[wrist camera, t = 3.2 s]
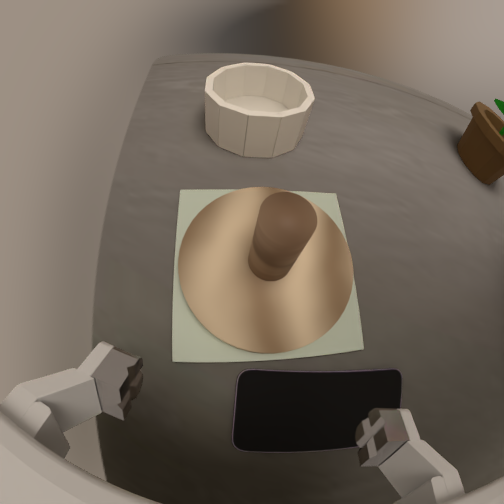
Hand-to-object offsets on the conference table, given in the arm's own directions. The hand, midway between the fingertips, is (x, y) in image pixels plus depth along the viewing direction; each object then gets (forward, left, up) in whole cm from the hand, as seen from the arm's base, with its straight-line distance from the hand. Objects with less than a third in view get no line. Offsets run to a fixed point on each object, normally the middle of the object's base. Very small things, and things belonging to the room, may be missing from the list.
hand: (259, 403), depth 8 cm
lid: (-3, -10, -13) cm, 16 cm away
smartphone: (-7, +3, -14) cm, 16 cm away
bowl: (-3, -29, -13) cm, 32 cm away
